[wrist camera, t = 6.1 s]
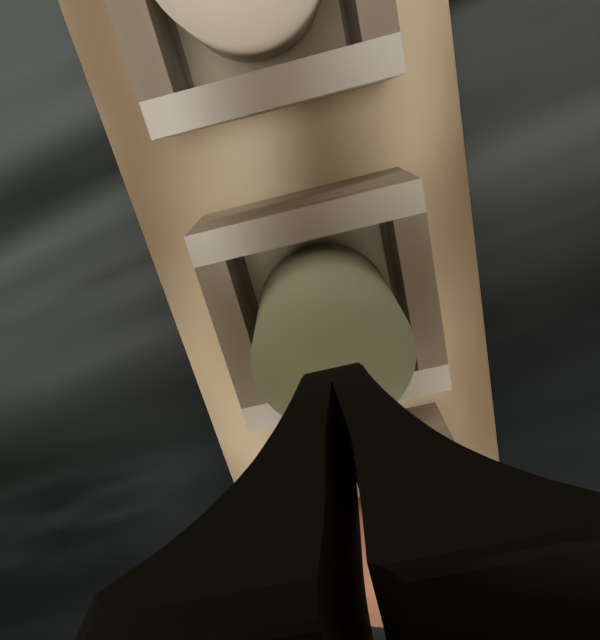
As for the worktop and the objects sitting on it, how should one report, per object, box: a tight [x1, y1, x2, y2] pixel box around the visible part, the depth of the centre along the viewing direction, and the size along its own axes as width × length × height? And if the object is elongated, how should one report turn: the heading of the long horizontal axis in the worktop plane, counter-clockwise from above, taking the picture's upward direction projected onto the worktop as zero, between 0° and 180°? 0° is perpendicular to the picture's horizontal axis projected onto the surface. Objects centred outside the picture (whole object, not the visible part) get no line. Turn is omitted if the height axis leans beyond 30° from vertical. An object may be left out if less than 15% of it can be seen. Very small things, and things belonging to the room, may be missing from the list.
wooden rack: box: [58, 0, 499, 497], centre depth 18 cm, size 12×28×4 cm, turn 14°
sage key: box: [250, 243, 417, 415], centre depth 15 cm, size 4×4×4 cm
